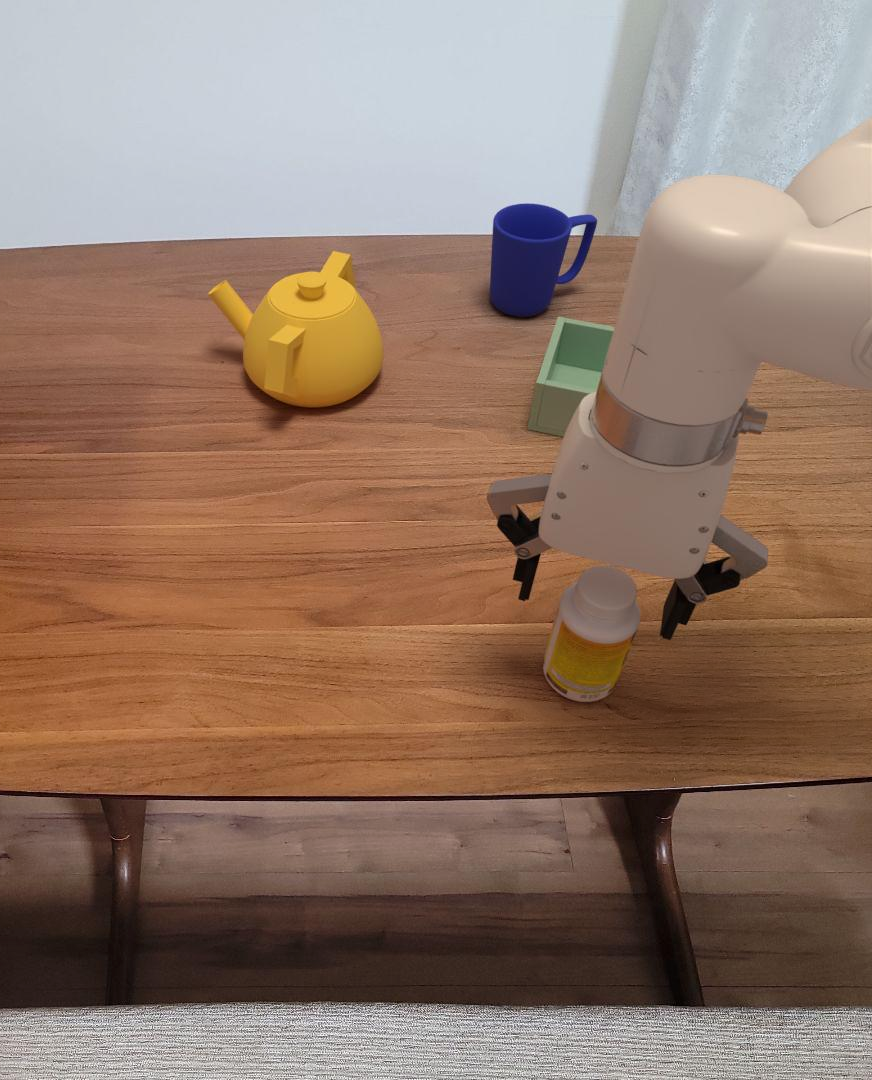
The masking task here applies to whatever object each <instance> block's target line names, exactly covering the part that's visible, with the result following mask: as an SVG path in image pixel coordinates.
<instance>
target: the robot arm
mask: <svg viewBox="0 0 872 1080" xmlns="http://www.w3.org/2000/svg"><path fill="white" fill-rule="evenodd" d="M619 305H620V306H619V309H618V313H617V317H616V320H615V324H614V326H613V327H614V331H613V334H612V338H611V341H610V345H609V348H608V352H607V355H606V359H605V364H604V367H603V370H602V374H601V378H600V381H599V385H598V389H597V392H593V393H590V394H588V395H587V396H585V397H584V398H583V399H582V401H581V403H580V404H579V406H578V408H577V409H576V411H575V413H574V415H573V417H572V419H571V421H570V423H569V426H568V428H567V430H566V433H565V435H564V437H562V441H561V443H560V446H559V449H558V452H557V455H556V458H555V462H554V465H553V467H552V471H551V473H545V474H544V473H543V474H537V475H529V476H523V477H515V478H508V479H507V478H506V479H499V480H494V481H492V482H491V483H490V486H489V489H488V492H487V495H486V500H487V503H488V505H489V507H490V510H491V513H492V514H493V516H494V517H495V518H496V520H497V521H496V526H497V528H498V530H499V531H500V532H501V534H503V535H504V537H506V539H507V540H508V541H509V542H510V543H511V545H512V546H514V550H513V553H514V556H516V557H517V558H516V562H515V567H514V571H513V572H514V573H513V575H512V581H516V582H518V583H519V582H520V583H521V585H520V590H519V593H518V598H517V600H519V601H523V602H526V600H527V601H529V600H530V596H531V593H532V590H533V589H532V588H533V585H534V582H535V578H536V573H537V570H538V567H539V562H540V559H541V555H542V553H545V552H547V551H549V550H552V549H555V550H557V551H560V552H562V553H566V554H570V555H572V556H573V555H574V556H576V557H580V558H584V559H588V560H591V561H596V562H600V563H604V564H608V565H610V566H614V567H619V568H623V569H628V570H632V571H635V572H640V573H643V574H648V575H653V576H656V577H661V578H665V579H673V580H674V581H673V583H672V585H671V587H670V589H669V592H668V594H667V597H666V599H665V601H664V603H663V607H662V616H661V622H660V623H661V624H660V630H659V636H660V637H661V638H662V639H664V640H668V641H671V640H672V638H673V636H674V634H675V632H676V630H677V628H678V625H682V626H687V625H688V624H689V622H690V619H691V616H692V614H693V612H694V610H695V609H696V606H697V605H701V604H704V603H705V602H706V601H707V598H708V596H712V595H714V594H717V593H722V592H725V591H728V590H733V589H735V588H737V587H739V586H740V584H741V581H743V580H744V579H746V580H747V579H748V578H751V577H752V576H754V575H755V574H758V573H760V571H762V570H764V569H766V568H767V567H768V565H769V547H767V546H766V545H765V544H764V543H763V542H761V541H759V540H758V539H757V538H755V537H754V536H752V535H751V534H749V533H748V532H747V531H745V530H744V529H742V528H741V527H740V526H738V525H737V524H735V523H734V522H732V520H729V519H728V518H726V517H725V516H724V515H723V514H722V512H723V508H724V506H725V503H726V499H727V495H728V491H729V486H730V484H731V480H732V476H733V472H734V466H735V465H736V459H737V455H738V447H739V434H741V435H747V434H753V435H758V436H761V435H762V433H763V432H764V430H765V426H766V423H767V421H768V414H769V413H768V410H763V409H759V408H755V406H754V405H752V404H749V403H748V402H749V399H748V398H747V396H748V394H749V392H750V389H751V387H752V384H753V382H754V380H755V377H756V375H757V373H758V370H759V368H760V366H761V363H766V364H769V365H772V366H775V367H778V368H781V369H785V370H789V371H792V372H795V373H798V374H801V375H805V376H808V377H811V378H814V379H818V380H821V381H824V382H828V383H831V384H834V385H837V386H842V387H846V388H851V389H856V390H861V391H868V392H872V116H870V117H868V118H867V119H866V120H864V121H863V122H861V123H859V124H858V125H857V126H855V127H853V128H852V129H851V130H849V131H848V132H846V133H845V134H844V135H842V136H841V137H839V138H838V139H836V140H835V141H834V142H833V143H831V144H829V145H828V146H827V147H826V148H825V149H823V150H822V151H820V152H819V153H818V154H816V155H815V157H813V159H811V160H810V161H809V162H808V163H807V164H806V165H805V166H804V167H803V168H802V169H800V171H798V172H797V174H796V175H795V176H794V177H793V179H792V180H791V181H790V183H788V185H787V186H786V188H785V189H783V190H781V189H780V188H777V187H775V186H773V185H772V184H768V183H766V182H763V181H761V180H756V179H753V178H749V177H744V176H738V175H731V174H716V173H715V174H714V173H713V174H698V175H694V176H689V177H686V178H683V179H681V180H677V181H675V182H673V183H672V184H669V185H668V186H667V187H666V188H665V189H663V190H662V191H661V192H660V193H658V194H657V195H656V197H655V198H654V200H653V201H652V202H651V204H650V206H649V207H648V209H647V210H646V214H645V217H644V220H643V223H642V225H641V229H640V232H639V236H638V239H637V243H636V247H635V251H634V255H633V258H632V262H631V265H630V269H629V273H628V275H627V280H626V283H625V287H624V292H623V294H622V298H621V301H620V304H619ZM541 502H543V504H542V509H541V511H540V512H538V513H536V514H534V515H531V516H530V517H528V516H527V515H526V513H525V512H524V511H523V510H522V509H521V508H520V507H519V506H518V505H524V504H531V503H541ZM711 544H713V545H714V546H716V547H717V548H719V549H720V550H721V551H723V552H725V553H726V554H727V555H728V556H726V557H723V558H720V559H717V560H713V561H710V562H708V561H707V560H706V558H707V554H708V552H709V549H710V547H711Z"/></svg>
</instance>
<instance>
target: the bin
mask: <svg viewBox="0 0 872 1080" xmlns="http://www.w3.org/2000/svg"><path fill="white" fill-rule="evenodd" d="M614 327H615V326H613V325H607V324H601V323H596V322H591V321H584V320H579V319H574V318H568V317H564V316H563V317H562V316H557V318H556V321H555V323H554V327H553V330H552V333H551V335H550V339H549V342H548V345H547V347H546V351H545V354H544V357H543V360H542V364H541V365H540V366H541V367H540V369H539V373H538V375H537V378H536V382H535V387H534V391H533V395H532V396H533V397H532V401H531V407H530V410H529V411H530V412H529V417H528V422H527V428H526V429H527V430H530V431H534V432H539V433H543V434H549V435H552V436H557V437H562V438H564V435H565V433H566V430H567V428H568V426H569V423H570V421H571V419H572V417H573V415H574V413H575V411H576V409H577V408H578V406H579V404H580V403H581V401H582V399H583V398H584V397H585V396H587V395H588V394H590V393H593V392H597V389H598V385H599V381H600V378H601V374H602V370H603V367H604V364H605V359H606V355H607V352H608V348H609V345H610V341H611V338H612V334H613V331H614Z"/></svg>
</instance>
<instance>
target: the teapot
mask: <svg viewBox="0 0 872 1080" xmlns="http://www.w3.org/2000/svg"><path fill="white" fill-rule="evenodd" d="M353 268H354V267H353V261H352V255H351V254H349V253H344V252H340V251H335V250H333V251H332V252H331V254H330V255H329V257H328V258H327V260H326V262H325V264H324V265H323V266H322V268H321V270H320V272H319V271H315V270H314V271H313V270H312V271H304V272H299V273H298V272H297V273H295V274H291V275H288V276H285V277H284V278H281V279H280V280H278V281H277V282H276V283H274V284H273V285H272V286H271V288H270V289H268V291H267V292H266V294H265V295H264V296H263V298H262V300H260V303H259V304H258V306H257V307H256V309H255V311H254V313H253V312H252V311H251V310H250V309H249V308H248V306H247V305H246V304H245V302H244V301H243V300H242V298H241V297H240V295H238V293H237V292H236V291H235V289H234V288H233V287H232V286H231V285H230V283H229V282H228V281H227V279H225V280H222V281H221V282H219V283H218V284H217V285H215V286H214V287H213V288H212V289H210V291H209V292H207V295H208V297H209V298H210V299H211V300H212V301H213V303H214V304H215V305H216V307H217V308H218V309H219V310H220V312H221V313H222V314H223V315H224V317H225V318H226V319H227V320H228V322H229V323H230V324H231V325H232V327H233V328H234V329H235V330H236V332H237V333H238V334H239V336H240V337H241V338H242V339H243V341H244V343H243V349H242V360H243V367H244V370H245V372H246V374H247V375H248V377H249V379H250V381H252V383H253V384H254V385H256V387H258V388H259V389H260V390H261V391H262V392H264V393H265V394H267V395H268V396H270V397H272V398H273V399H275V400H277V401H279V402H282V403H284V404H287V405H291V406H295V407H301V408H325V407H326V408H327V407H332V406H336V405H339V404H343V403H345V402H347V401H349V400H352V399H353V398H355V397H356V396H358V395H359V394H361V393H362V392H363V391H364V390H365V389H366V388H369V386H370V385H371V384H372V383H373V382H374V381H375V380H376V379H377V377H378V375H379V373H380V371H381V369H382V367H383V362H384V343H383V338H382V335H381V332H380V328H379V327H380V326H379V325H378V323H377V320H376V317H375V316H374V314H373V312H372V310H371V309H370V307H369V306H368V305H367V303H366V302H365V300H364V299H363V298H362V296H361V294H360V293H359V292H358V290H357V289H356V280H355V273H354V269H353Z"/></svg>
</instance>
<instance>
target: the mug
mask: <svg viewBox="0 0 872 1080" xmlns="http://www.w3.org/2000/svg"><path fill="white" fill-rule="evenodd" d="M492 219H493V220H492V236H491V237H492V238H491V241H492V242H491V255H490V257H491V259H490V274H489V275H490V278H489V279H490V280H489V297H490V300H491V303H492V304H493V306H494V307H495V308H496V309H497V310H499V311H500V312H502V313H504V314H506V315H509V316H514V317H520V318H523V317H524V318H525V317H532V316H536V315H538V314H540V313H541V314H542V312H544V311H545V310H547V308H548V306H549V305H550V303H551V302H552V299H553V296H554V293H555V289H556V286H557V285H566V284H568V283H570V282H571V281H573V280H574V279H575V278H576V277H578V274H579V273H580V272H581V270H582V268H583V267H584V264H585V261H586V259H587V257H588V254H589V251H590V248H591V245H592V242H593V239H594V235H595V233H596V228H597V225H598V219H597V217H595V216H594V214H588V213H587V214H579V215H573V216H568V215H567V214H566V213H564V212H563V211H561V210H559V209H557V208H556V207H555V208H554V207H552V206H549V205H545V204H540V203H539V204H538V203H516V204H511V205H507V206H505V207H503V208H501V209H500V210H499V211H497V212H496V213H495V215H494V216H493V218H492ZM582 225H585V227H584V231H583V234H582V238H581V241H580V244H579V248H578V251H577V254H576V256H575V258H574V260H573V262H572V264H571V265H570V268H569V269H568V270H567V271H566V272H565V273H563V274H561V275H560V271H561V268H562V264H563V261H564V258H565V254H566V250H567V247H568V244H569V240H570V238H571V237H570V236H571V233H572V230H573V228H576V227H579V226H582Z"/></svg>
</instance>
